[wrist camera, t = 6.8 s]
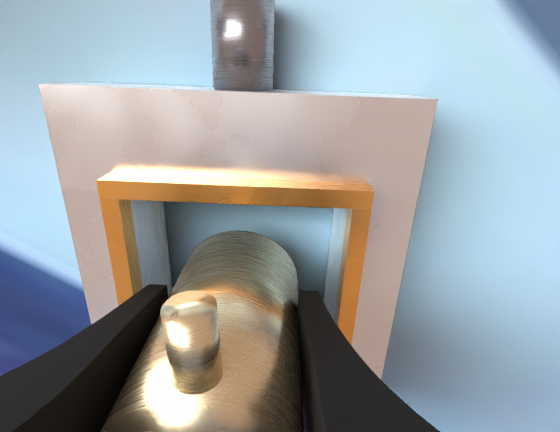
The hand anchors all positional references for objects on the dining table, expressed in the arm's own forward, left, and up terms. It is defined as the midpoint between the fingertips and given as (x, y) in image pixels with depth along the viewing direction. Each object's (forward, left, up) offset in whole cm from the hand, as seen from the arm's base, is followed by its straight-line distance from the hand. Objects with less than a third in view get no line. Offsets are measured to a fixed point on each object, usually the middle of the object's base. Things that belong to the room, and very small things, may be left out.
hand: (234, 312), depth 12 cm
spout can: (0, 0, -2) cm, 2 cm away
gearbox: (+2, 0, -4) cm, 5 cm away
